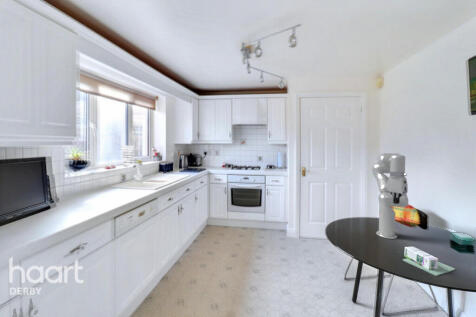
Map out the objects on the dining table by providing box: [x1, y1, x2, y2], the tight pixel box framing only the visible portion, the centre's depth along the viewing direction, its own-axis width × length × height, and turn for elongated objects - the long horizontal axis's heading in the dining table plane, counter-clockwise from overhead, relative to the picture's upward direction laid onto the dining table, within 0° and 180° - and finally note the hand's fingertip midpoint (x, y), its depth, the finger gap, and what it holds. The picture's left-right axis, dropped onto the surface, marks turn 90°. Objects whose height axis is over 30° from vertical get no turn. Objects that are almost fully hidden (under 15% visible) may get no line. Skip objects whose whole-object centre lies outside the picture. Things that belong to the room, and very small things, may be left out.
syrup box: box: [404, 246, 439, 270], centre depth 120 cm, size 6×6×14 cm
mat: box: [402, 258, 456, 277], centre depth 119 cm, size 16×16×1 cm
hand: (396, 203), depth 137 cm, fingers closed
